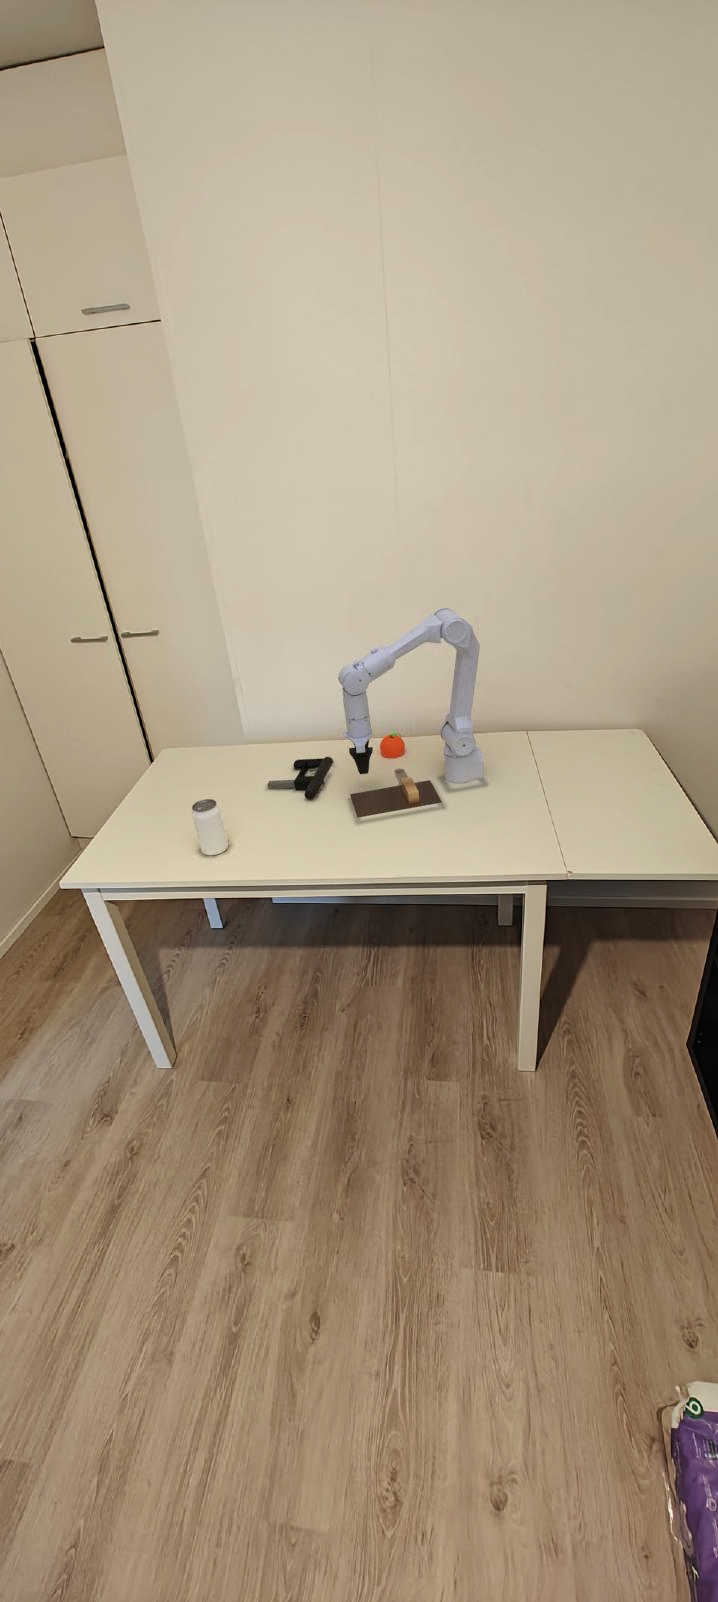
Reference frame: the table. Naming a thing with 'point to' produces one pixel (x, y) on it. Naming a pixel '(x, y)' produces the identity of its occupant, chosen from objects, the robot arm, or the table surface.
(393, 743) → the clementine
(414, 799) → the knife
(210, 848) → the can
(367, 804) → the board
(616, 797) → the table surface
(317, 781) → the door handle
